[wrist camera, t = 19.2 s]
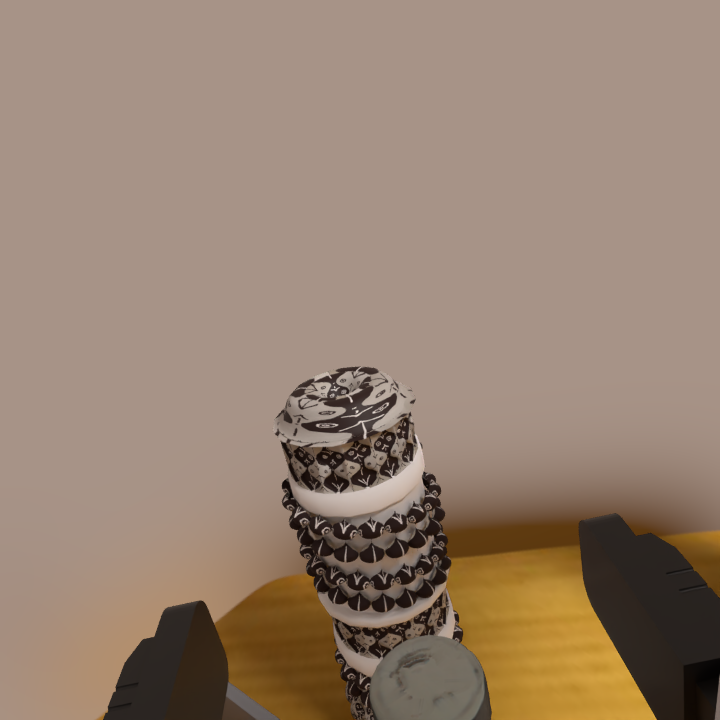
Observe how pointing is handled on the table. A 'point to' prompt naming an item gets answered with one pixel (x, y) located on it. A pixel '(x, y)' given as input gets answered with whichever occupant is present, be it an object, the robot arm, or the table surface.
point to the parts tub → (243, 707)
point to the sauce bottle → (429, 682)
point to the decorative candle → (366, 518)
